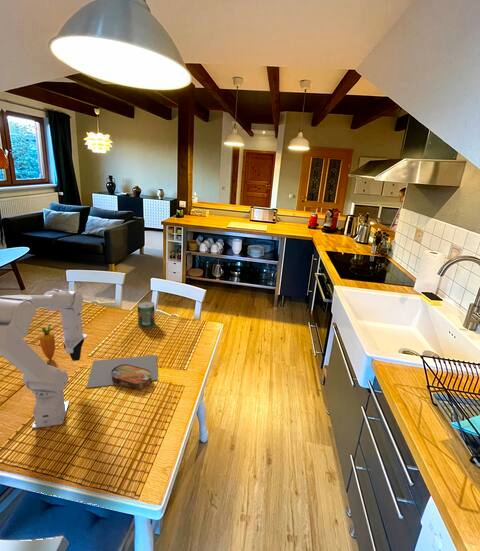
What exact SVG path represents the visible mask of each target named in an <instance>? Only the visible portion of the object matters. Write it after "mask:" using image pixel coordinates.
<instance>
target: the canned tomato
mask: <svg viewBox="0 0 480 551" xmlns="http://www.w3.org/2000/svg"><path fill="white" fill-rule="evenodd" d="M136 307H137V326H138V328H140V329H144V330H145V329H152V328H153V327H154V326H156V324H155V321H156V320H155V318H156V317H155V314H156V313H155V312H156V311H155V302H153V301H151V300H149V301H148V300H144V301H140V302H138V303H137V305H136Z"/></svg>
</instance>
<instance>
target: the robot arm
mask: <svg viewBox="0 0 480 551" xmlns="http://www.w3.org/2000/svg"><path fill="white" fill-rule="evenodd" d="M83 303H84V296H83V295H82V293H80V292H79V291H75V290H69V289H67V288H66V289H59V288H52V289H51V290H48V291H46V292H45V293H43V294H38V295H37V294H11V295H10V294H9V295H7V294H6V295H0V356H1V357H2V358H4V359H5V360H7V361H8V362H9V363H10V364H11V365H12V366H14V368H16V369H17V370H18V371H20V373H22V374H23V375H22V378H21V380H22V382H24V385H25V387H26V389H27V390H30V391H31V394H34V399H35V404H34V407H33V409H32V413H33V414H32V415H33V420H34V421H33V423H32V425H31V428H32V429H39V428H45V427H46V428H47V427H53V426H58V425H59V426H60V425H62V424H63V423H64V420H65V416H66V414H67V412H68V407H69V405H70V401H69V400H66V401H65V395H64V390H65V388H66V386H67V385H68V384H67V383H68V381H69V374H68V372H67V371H66V370H62V369H60V368H58V367H55V366H53V365H49V364H48V363H47V362H46V361H45V360H44V359H43V358H42V357H41V356H40V355H39V354H38V353H37V352H36V351H35V350H34V349H33V348H32V347H31V346H30V345H29V344H28V343H27V342H26V341H25V340H24V338H26V337H27V335H28V333H29V330H30V327H31V324H32V321H33V319H34V316H35V315H36V312H37V310H36V309H38V308H44V309H45V310H47V311H57V310H58V311H60V318H61V325H62V327H61V328H62V333H63V337H62V338H63V348H64V349H65V355H66V354H68V355H69V356H70V358H71V361H72V362H75V361H77V362H78V361H80V359H81V357H82V356H81V354H82V347H83V344H84V342H85V340H86V339H87V338H88V334H86V333H84V332H83V330H84V329H83V322H82V321H83V320H82V314H81V312H82V311H83Z"/></svg>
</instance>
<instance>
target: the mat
mask: <svg viewBox="0 0 480 551" xmlns="http://www.w3.org/2000/svg"><path fill="white" fill-rule="evenodd" d="M157 358H158V356H157V354H152V355H151V354H150V355H141V356H140V355H139V356H131V357H130V356H129V357H127V356H126V357H119V358H108V359H96V360H93V362H92V365H91V368H90V371H89V372H90V373H89V376H88V380H87V383H86V389H93V388H101V387H111V386H120V385H121V384H117V383H115V382H113V380H112V376H111V371H112V370H113V369H114V368H115V367H117V366H119V365H123V364H129V365H132V366H136V367H140V368H143V369H147V370H149V371H150V372H151V382H154V381H159V379H158V361H157V360H158V359H157Z"/></svg>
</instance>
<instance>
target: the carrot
mask: <svg viewBox="0 0 480 551" xmlns="http://www.w3.org/2000/svg"><path fill="white" fill-rule="evenodd" d="M52 330H53V327H51V324H48V326H47V328H46V327H45V326H42V327H41V331H42V332H43V333H41V334H40V336H39V342H40V348H41V351H42V352H43V354H44V355H45V357H46V358H47V359H48V360H52V359H53V357H54V354H55V350H56V341H55V340H56V339H55V333H53V332H51V331H52Z"/></svg>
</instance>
